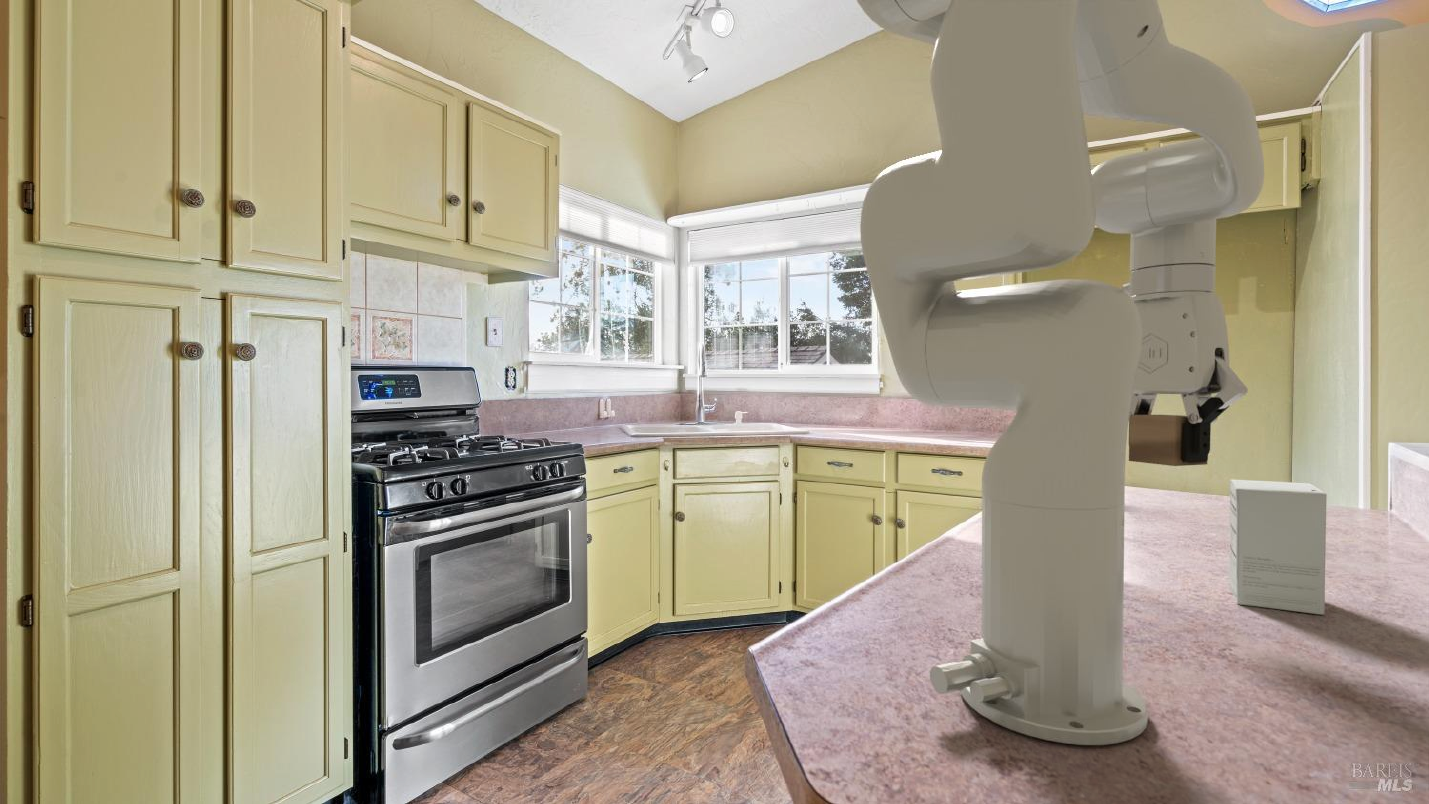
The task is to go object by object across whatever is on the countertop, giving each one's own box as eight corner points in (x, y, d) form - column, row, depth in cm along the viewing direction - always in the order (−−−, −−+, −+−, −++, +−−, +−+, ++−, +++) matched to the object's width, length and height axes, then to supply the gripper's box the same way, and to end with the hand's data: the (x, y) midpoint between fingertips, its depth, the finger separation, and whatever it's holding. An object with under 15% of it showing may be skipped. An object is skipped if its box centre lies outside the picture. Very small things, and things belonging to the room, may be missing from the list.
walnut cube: (1174, 466, 69) (1175, 416, 69) (1128, 460, 74) (1129, 414, 74) (1207, 464, 71) (1208, 416, 71) (1160, 459, 76) (1161, 414, 76)
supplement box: (1310, 596, 75) (1313, 482, 74) (1325, 617, 69) (1328, 492, 68) (1227, 586, 79) (1229, 477, 78) (1233, 604, 73) (1236, 486, 72)
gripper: (1075, 295, 79) (1072, 453, 79) (1234, 273, 63) (1229, 469, 63) (1122, 299, 81) (1119, 451, 82) (1285, 278, 66) (1280, 467, 66)
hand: (1167, 457), depth 73 cm, fingers closed on walnut cube, 5 cm apart
